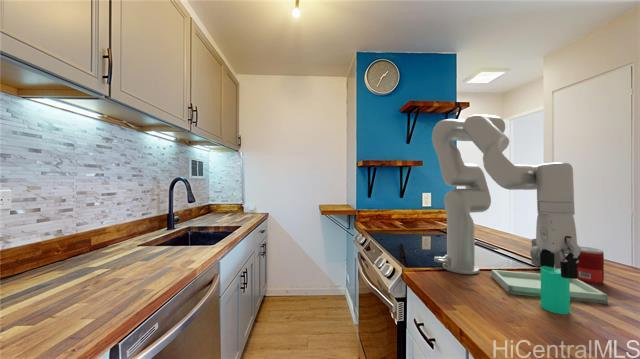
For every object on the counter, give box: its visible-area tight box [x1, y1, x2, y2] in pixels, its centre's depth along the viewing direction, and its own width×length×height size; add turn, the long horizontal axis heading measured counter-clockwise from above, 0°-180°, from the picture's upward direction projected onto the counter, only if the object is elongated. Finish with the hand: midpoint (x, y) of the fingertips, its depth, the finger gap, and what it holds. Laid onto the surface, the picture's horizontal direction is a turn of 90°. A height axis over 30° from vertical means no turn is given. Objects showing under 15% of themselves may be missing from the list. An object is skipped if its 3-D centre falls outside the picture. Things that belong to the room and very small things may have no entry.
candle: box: [540, 264, 571, 315], centre depth 71 cm, size 6×6×12 cm
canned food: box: [577, 245, 605, 285], centre depth 92 cm, size 8×8×11 cm
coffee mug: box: [529, 238, 562, 268], centre depth 108 cm, size 13×10×10 cm
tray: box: [491, 269, 609, 305], centre depth 84 cm, size 24×15×2 cm, turn 74°
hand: (557, 272), depth 70 cm, fingers open, 9 cm apart
